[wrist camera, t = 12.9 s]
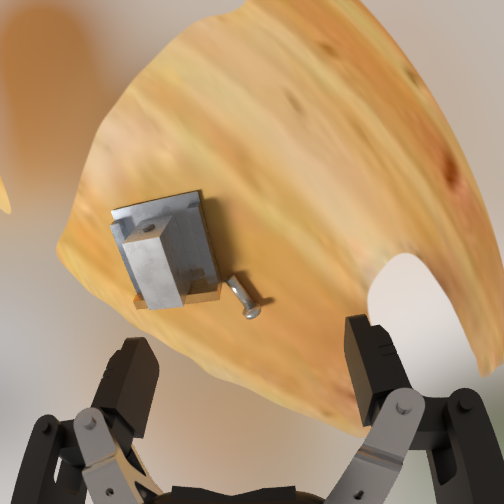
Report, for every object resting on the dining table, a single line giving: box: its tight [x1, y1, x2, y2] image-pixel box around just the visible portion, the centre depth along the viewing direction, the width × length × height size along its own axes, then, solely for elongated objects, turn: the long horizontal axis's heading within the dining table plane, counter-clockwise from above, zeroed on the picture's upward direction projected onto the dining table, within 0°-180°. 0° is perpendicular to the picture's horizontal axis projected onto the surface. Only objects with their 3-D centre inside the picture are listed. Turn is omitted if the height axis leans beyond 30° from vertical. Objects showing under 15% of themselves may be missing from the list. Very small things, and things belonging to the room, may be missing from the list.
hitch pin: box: [225, 274, 261, 319], centre depth 45 cm, size 7×3×3 cm, turn 30°
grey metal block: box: [122, 215, 192, 310], centre depth 39 cm, size 10×5×7 cm, turn 10°
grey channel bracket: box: [110, 191, 222, 309], centre depth 41 cm, size 14×13×4 cm
